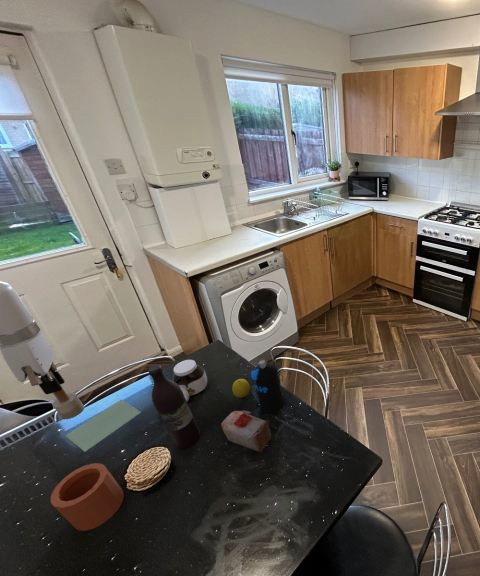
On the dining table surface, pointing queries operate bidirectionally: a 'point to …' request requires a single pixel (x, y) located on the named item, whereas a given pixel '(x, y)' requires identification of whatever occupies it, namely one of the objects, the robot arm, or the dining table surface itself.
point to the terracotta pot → (88, 496)
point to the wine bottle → (173, 409)
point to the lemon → (241, 388)
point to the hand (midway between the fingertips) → (55, 387)
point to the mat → (102, 425)
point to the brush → (66, 403)
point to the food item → (246, 430)
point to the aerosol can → (268, 387)
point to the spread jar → (190, 378)
